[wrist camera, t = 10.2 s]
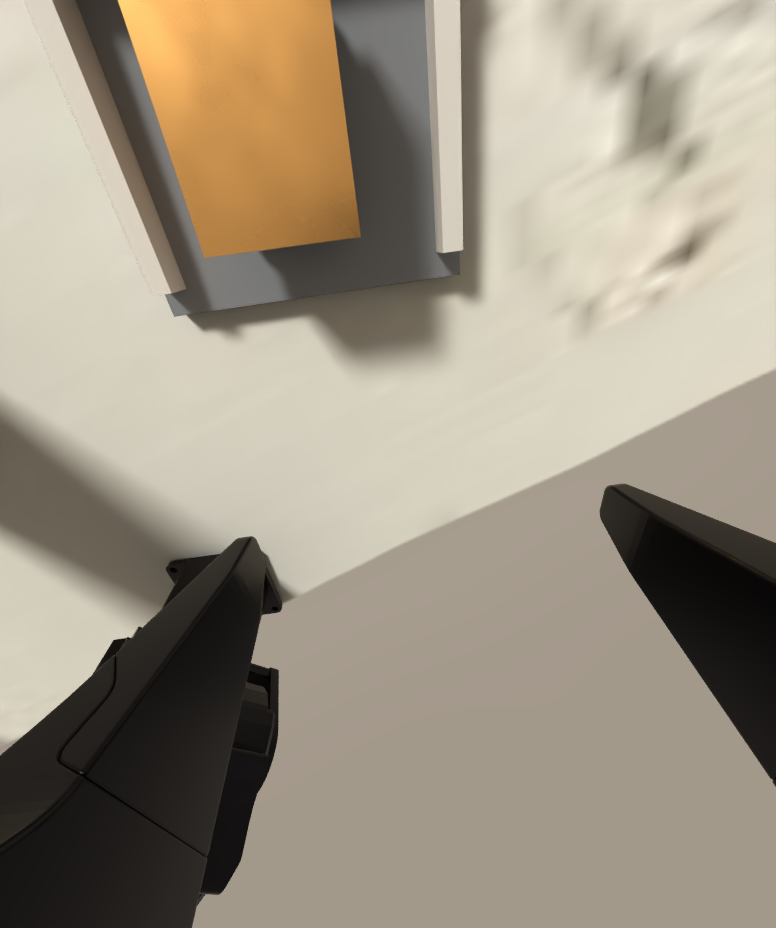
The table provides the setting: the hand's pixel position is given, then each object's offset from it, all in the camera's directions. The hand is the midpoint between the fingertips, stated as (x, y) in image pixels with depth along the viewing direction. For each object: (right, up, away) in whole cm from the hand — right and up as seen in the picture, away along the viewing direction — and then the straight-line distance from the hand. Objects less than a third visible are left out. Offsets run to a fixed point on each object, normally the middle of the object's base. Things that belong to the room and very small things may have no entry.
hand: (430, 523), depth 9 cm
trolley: (-5, +14, +4) cm, 15 cm away
